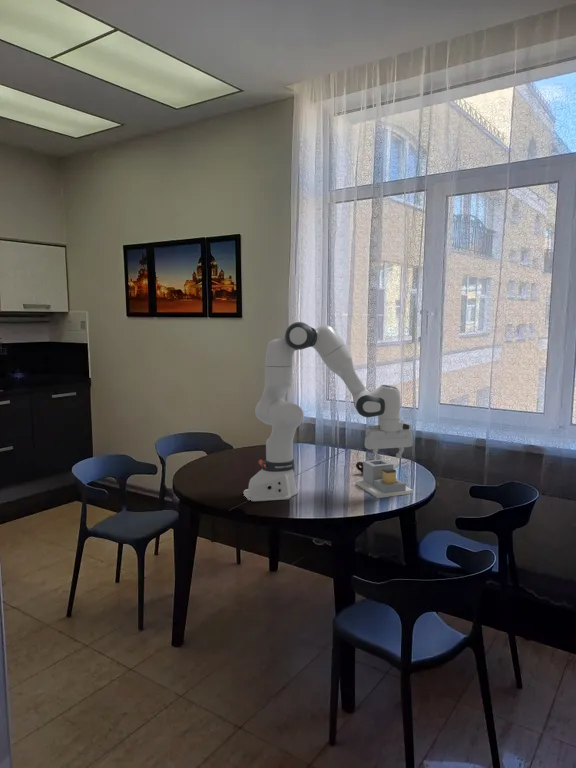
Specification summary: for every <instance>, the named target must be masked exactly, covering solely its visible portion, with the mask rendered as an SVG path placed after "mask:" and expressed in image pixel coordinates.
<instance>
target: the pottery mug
mask: <svg viewBox="0 0 576 768" xmlns="http://www.w3.org/2000/svg"><path fill="white" fill-rule="evenodd" d="M369 460H376V459H375V458H370V459H367V460H366V461H369ZM355 468H356V469H357V470H358V471H359V472H360V473H361V474H363V461H357V462H356V463H355Z"/></svg>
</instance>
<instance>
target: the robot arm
mask: <svg viewBox="0 0 576 768" xmlns="http://www.w3.org/2000/svg"><path fill="white" fill-rule="evenodd" d="M307 348H313V349H314V350H315V351H316V352H317V354H318V355H319V357H320V358H321V360H322V361H323V362H324V364H325V365H326V367H327V368H328V369H329V370H330V371H331V372H332V373H334V374H336V376H338V377H339V378H340V379H341V380H342V381H343V383H344V384H345V386H346V387H347V389H348V391H349V392H350V394H351V396H352V400H353V405H354V409H355V410H356V412H357V413H358V414H359V415H360V416H362V417H364V418H372V417H377V425H370V426H368V427H366V428H365V432H364V434H365V437H364V447H365V449H368V450H372V452H373V453H374V456H375V457H374V459H375V460H380V459H381V454H378V452H379V450H383V449H396V448H397V449H398V452H397V453H395V457H396V459H402V454H403V452H404V451H405V448H410V447H412V446H413V444H414V443H413V442H414V441H413V440H414V439H413V432H412V424H409V423H407V422H405V421H402V420H401V415H400V414H401V413H400V411H401V406H402V405H401V402H402V401H401V400H402V399H401V392H400V390H399V388H397V387H396V386H393V385H389V384H388V385H387V384H381V385H380V386H379V387H377V388H376V389H374V390H369V389H368V388H367V387H366V386H365V384H364V383H363V382H362V380H361V378H360V377H359V376H358V374H357V373H356V370H355V368H354V362H353V358H352V355H351V353H350V350H349V348H348V347H347V345H346V343H345V342H344V340H343V339H342V338H341V336H340V335H339V334H338V333H337V331H336V330H335V329H334V328H333V327H331V325H327V324H325V325H324V324H323V325H320V326H319V327H317V328H313V327H312V326H310V325H308V324H307V323H305V322H302V321H296V322H293V323H291V324H290V325H289V326H288V327H287V328H286V331H285V333H284V336H283V337H282V338H275V339H272V340H270V341H269V342H268V343H267V347H266V352H265V359H264V362H265V363H264V386H263V391H262V394H261V397H260V399H259V401H258V402H257V404H256V405H255V409H254V414H255V417H256V418H257V419H258V420H259V421H260V422H262V423H263V424H265V425H268V426H269V425H270V426H271V428H272V429H271V433H270V436H269V437H268V438H267V439H266V441H265V456H266V457H265V458H266V459H265V460H263V459H259V460H258V464H259V465H260V466H261V470H259V471H258V472H257V473H256V474H254V476H252V477H251V478H250V479H249V481H248V488H246V489H244V490H243V494H244V495H243V494H242V495H243V497H244V496H245V497H246V498H247V499H246V498H245V497H244V498H245V499H246V500H248V501H250V500H251V501H250V502H266V501H267V502H268V501H278V500H279V501H281V500H290V499H291V498H292V497H293V496H295V495H297V494H298V493H299V491H298V488H297V486H296V484H297V483H296V479H295V474H294V473H295V466H296V465H295V458H294V438H295V434H296V430H297V429H298V427H299V426H300V425H301V424H302V423H303V421H304V411H303V409H302V407H301V406H300V405H298V404H296V403H294V402H293V401H288V400H286V395H287V394H288V393H287V392H288V391H289V389H290V388H292V385H293V356H294V353H295V352H296V351H299V350H300V351H301V350H305V349H307Z"/></svg>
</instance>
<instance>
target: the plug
mask: <svg viewBox="0 0 576 768" xmlns="http://www.w3.org/2000/svg"><path fill="white" fill-rule="evenodd" d="M382 475H383V482H384V483H385V484H392V483H396V479H397V470H396V469H394V468H393V469H392V468H386V469H382Z"/></svg>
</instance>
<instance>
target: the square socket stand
mask: <svg viewBox="0 0 576 768" xmlns="http://www.w3.org/2000/svg"><path fill="white" fill-rule="evenodd" d="M368 460H369V459H368ZM362 462H363V472H362V480H361V479H360V480H356V481H355V484H356V486H358V487H360V488H361V489H363V490H364V491H366V493H369V494H370V495H371V496H373V497H375V498H377V499H382V498H389V497H390V496H391V497H398V496H406V495H413V494H414V489H412V488H410V487H408V486H407V485H406V484H407V483H406V482H404V481H401V480H400V479H399V478H396V483H392V484H385V483H384V482H383V475H382V469H386V468H392V469H394V463H392V462H389V461H388V460H386V459H384V458H380V460H376V459H375V460H369V461H367V460H363V461H362Z"/></svg>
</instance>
